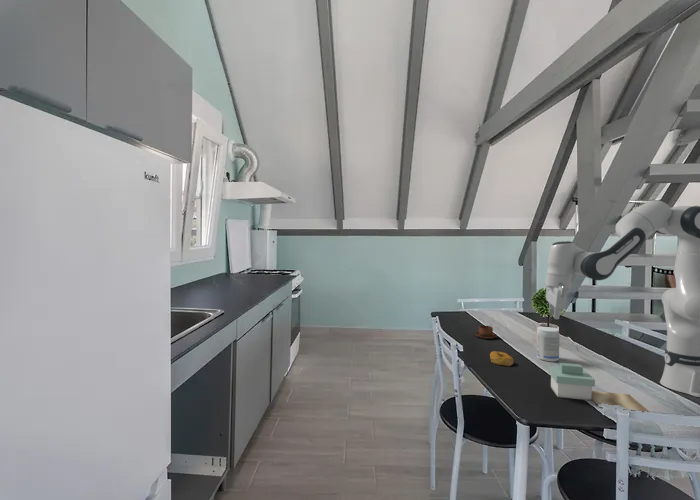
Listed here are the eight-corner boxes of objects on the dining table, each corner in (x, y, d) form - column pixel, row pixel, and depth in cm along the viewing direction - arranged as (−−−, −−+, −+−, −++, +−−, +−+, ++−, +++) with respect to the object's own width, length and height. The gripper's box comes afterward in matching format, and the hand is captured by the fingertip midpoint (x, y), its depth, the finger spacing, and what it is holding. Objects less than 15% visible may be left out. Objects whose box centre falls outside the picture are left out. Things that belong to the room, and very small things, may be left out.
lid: (583, 375, 141) (584, 361, 140) (594, 386, 131) (595, 371, 130) (548, 372, 144) (549, 358, 144) (556, 382, 134) (557, 368, 134)
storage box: (582, 390, 140) (582, 372, 140) (591, 400, 132) (591, 381, 131) (550, 387, 143) (551, 369, 143) (557, 396, 134) (558, 378, 134)
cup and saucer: (471, 337, 213) (471, 327, 213) (480, 333, 222) (480, 323, 222) (492, 341, 205) (492, 330, 205) (500, 337, 214) (500, 327, 214)
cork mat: (629, 395, 136) (629, 394, 136) (649, 413, 122) (649, 411, 122) (584, 390, 140) (584, 389, 140) (599, 407, 126) (599, 406, 126)
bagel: (502, 368, 164) (503, 357, 164) (484, 360, 174) (485, 350, 174) (518, 365, 168) (519, 355, 168) (500, 357, 178) (500, 348, 178)
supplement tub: (562, 359, 175) (563, 329, 174) (552, 363, 170) (553, 332, 169) (542, 354, 183) (543, 325, 183) (532, 357, 178) (533, 328, 177)
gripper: (573, 286, 132) (568, 323, 133) (561, 280, 152) (557, 312, 152) (554, 283, 134) (549, 320, 135) (544, 278, 154) (540, 310, 154)
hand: (553, 316), depth 144 cm, fingers open, 8 cm apart
